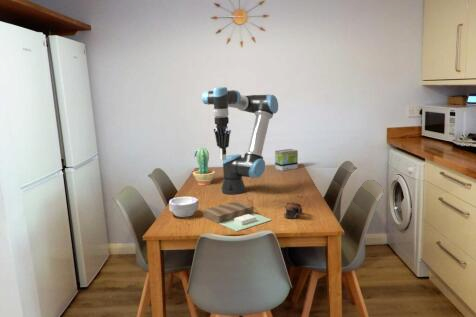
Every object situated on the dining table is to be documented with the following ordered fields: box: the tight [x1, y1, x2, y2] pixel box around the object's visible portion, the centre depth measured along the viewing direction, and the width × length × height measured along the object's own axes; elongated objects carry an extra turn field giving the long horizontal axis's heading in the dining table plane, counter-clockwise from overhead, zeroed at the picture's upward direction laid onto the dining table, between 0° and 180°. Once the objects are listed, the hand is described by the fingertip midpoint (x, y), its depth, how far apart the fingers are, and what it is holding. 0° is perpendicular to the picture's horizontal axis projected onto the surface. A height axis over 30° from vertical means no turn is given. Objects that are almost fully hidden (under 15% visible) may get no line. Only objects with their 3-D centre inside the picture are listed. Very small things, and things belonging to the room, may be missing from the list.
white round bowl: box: [168, 196, 199, 218], centre depth 210 cm, size 15×15×8 cm
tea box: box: [274, 148, 299, 172], centre depth 309 cm, size 15×10×15 cm
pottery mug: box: [283, 202, 303, 220], centre depth 200 cm, size 12×10×8 cm
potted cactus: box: [192, 146, 216, 186], centre depth 272 cm, size 15×15×25 cm
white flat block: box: [234, 214, 256, 225], centre depth 194 cm, size 9×6×2 cm, turn 127°
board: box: [202, 200, 255, 225], centre depth 205 cm, size 22×14×4 cm, turn 127°
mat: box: [218, 212, 273, 232], centre depth 195 cm, size 22×14×1 cm, turn 127°
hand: (223, 159), depth 217 cm, fingers closed
